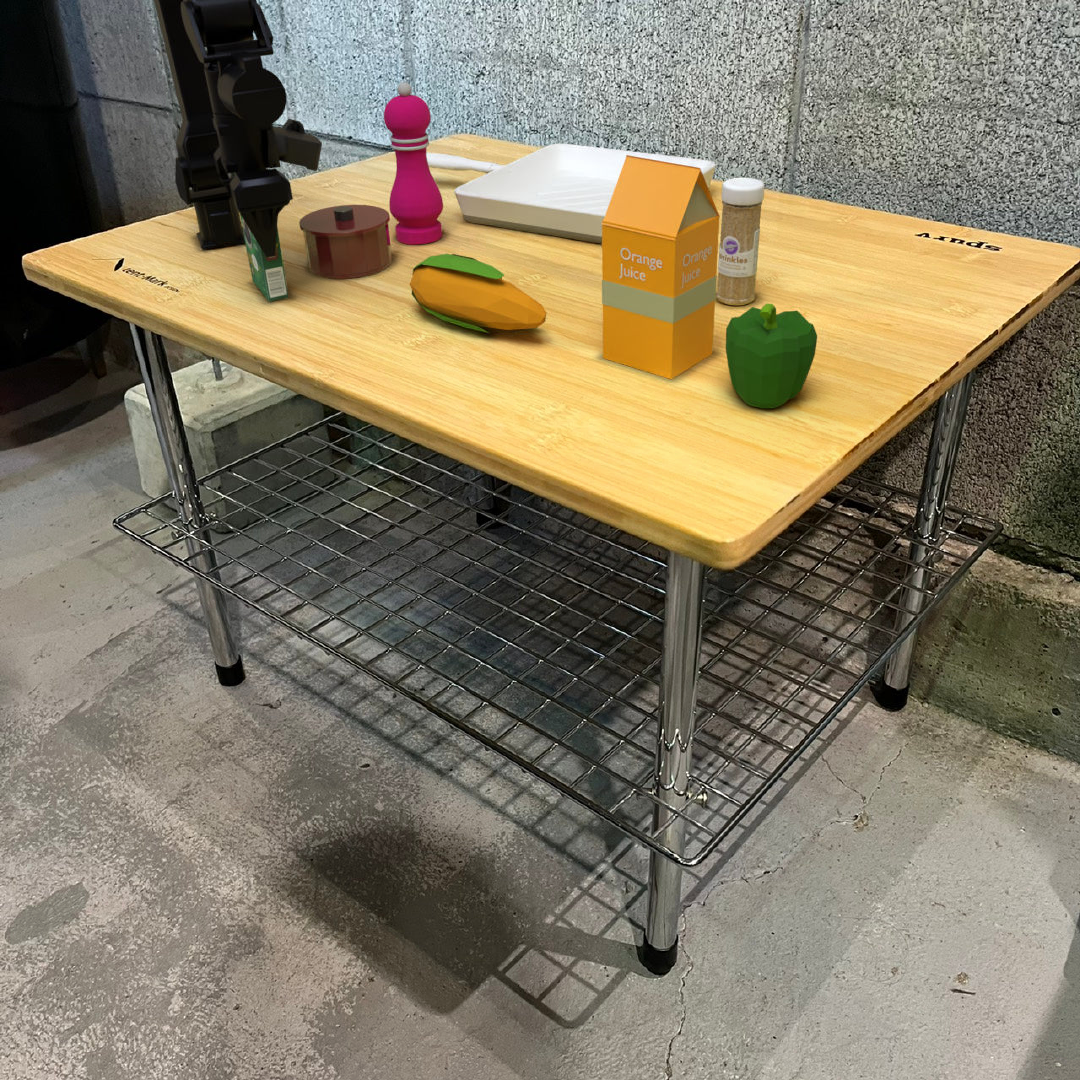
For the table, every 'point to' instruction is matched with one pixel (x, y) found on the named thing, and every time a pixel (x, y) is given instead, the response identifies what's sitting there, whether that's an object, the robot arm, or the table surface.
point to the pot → (349, 254)
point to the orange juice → (659, 268)
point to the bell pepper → (769, 355)
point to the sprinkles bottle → (739, 240)
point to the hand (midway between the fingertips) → (264, 245)
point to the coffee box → (266, 267)
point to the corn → (473, 294)
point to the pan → (549, 188)
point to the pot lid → (344, 220)
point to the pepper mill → (412, 170)
